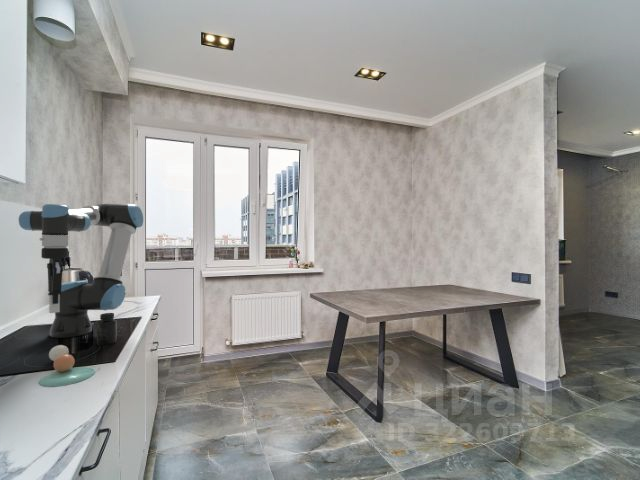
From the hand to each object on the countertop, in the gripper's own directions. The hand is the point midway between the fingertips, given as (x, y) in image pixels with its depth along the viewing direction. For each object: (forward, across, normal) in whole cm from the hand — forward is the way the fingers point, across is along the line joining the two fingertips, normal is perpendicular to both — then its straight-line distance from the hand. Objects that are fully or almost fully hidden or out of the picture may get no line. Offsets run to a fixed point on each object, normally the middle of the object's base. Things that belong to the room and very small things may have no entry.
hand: (54, 312), depth 118 cm
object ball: (+14, +17, 0) cm, 22 cm away
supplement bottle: (+17, -5, +18) cm, 25 cm away
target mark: (+16, +23, 0) cm, 28 cm away
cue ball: (+14, +6, 0) cm, 15 cm away
